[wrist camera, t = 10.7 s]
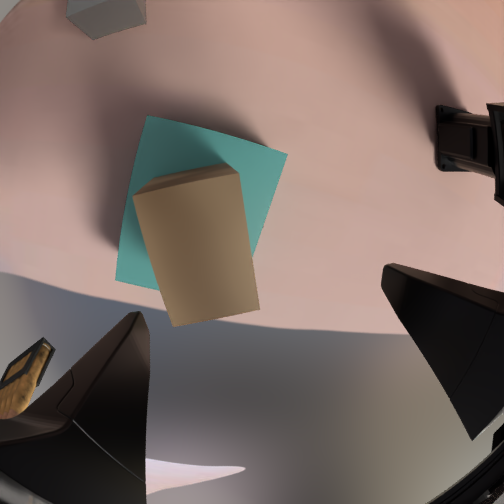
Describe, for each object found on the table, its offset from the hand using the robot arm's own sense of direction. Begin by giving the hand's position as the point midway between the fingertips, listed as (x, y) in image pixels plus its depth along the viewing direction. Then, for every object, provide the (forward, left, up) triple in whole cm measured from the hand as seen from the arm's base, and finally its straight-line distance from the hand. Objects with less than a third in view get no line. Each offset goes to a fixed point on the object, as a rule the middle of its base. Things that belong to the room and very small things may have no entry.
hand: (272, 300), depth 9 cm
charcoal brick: (+6, -18, -11) cm, 22 cm away
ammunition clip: (+25, +11, -11) cm, 30 cm away
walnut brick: (+2, -1, -7) cm, 8 cm away
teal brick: (+3, -1, -11) cm, 12 cm away
